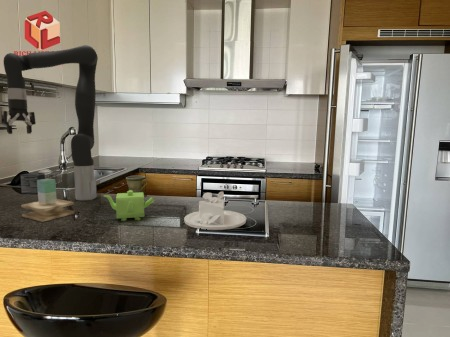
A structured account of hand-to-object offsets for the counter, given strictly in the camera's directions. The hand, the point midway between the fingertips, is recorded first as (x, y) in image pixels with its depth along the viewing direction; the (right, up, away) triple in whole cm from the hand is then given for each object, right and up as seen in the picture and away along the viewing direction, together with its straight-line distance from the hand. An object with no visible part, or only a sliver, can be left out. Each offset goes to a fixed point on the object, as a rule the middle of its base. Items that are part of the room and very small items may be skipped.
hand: (19, 133), depth 155 cm
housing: (+23, -31, -19) cm, 43 cm away
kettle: (+58, -37, -20) cm, 72 cm away
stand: (+23, -36, -18) cm, 46 cm away
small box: (-9, -30, +26) cm, 41 cm away
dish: (+93, -38, -23) cm, 103 cm away
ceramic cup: (+51, -31, +21) cm, 63 cm away
